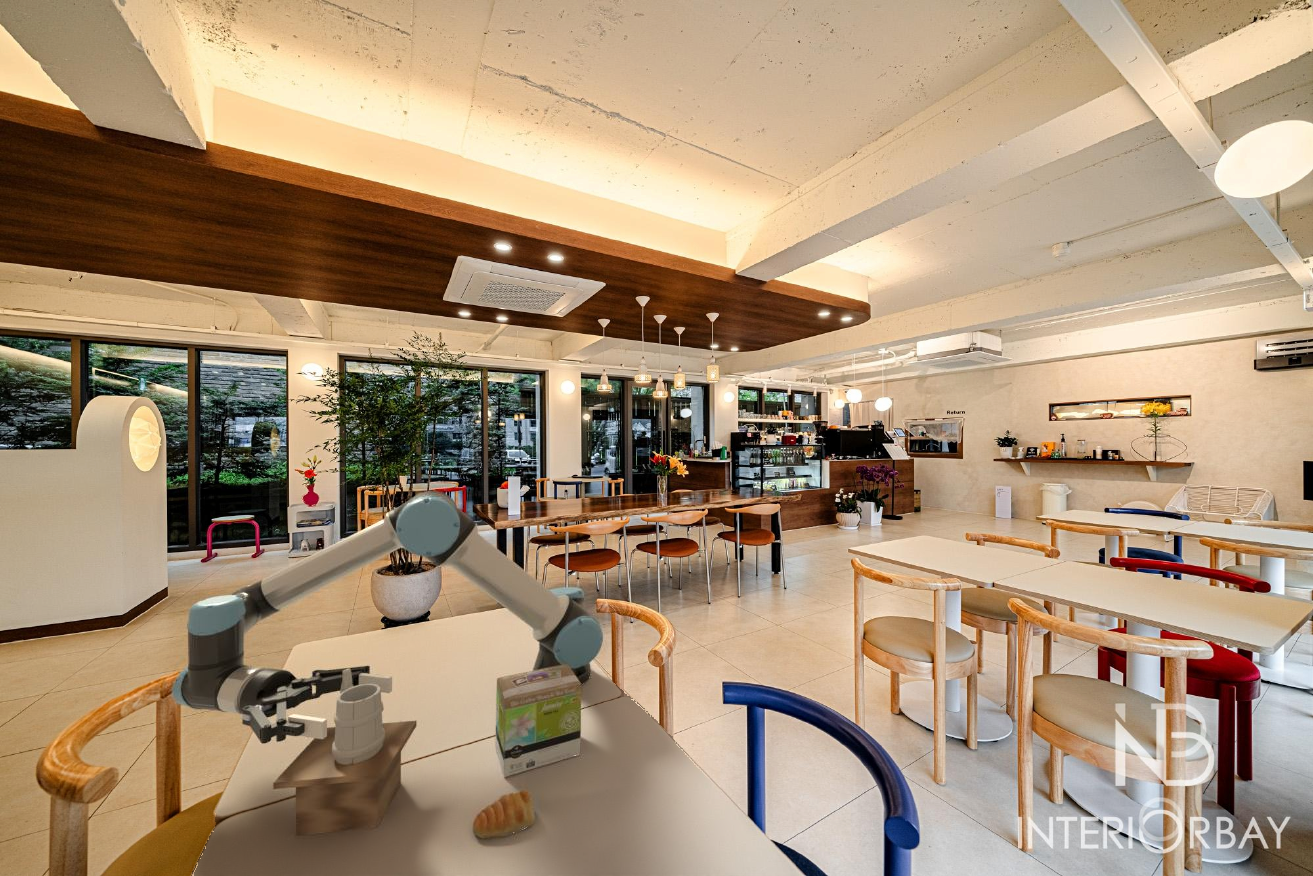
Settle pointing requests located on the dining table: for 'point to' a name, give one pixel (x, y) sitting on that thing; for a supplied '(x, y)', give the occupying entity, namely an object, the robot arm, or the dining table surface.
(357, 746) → the mug
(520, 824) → the pastry
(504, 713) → the tea box
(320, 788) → the walnut stand
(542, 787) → the dining table surface
